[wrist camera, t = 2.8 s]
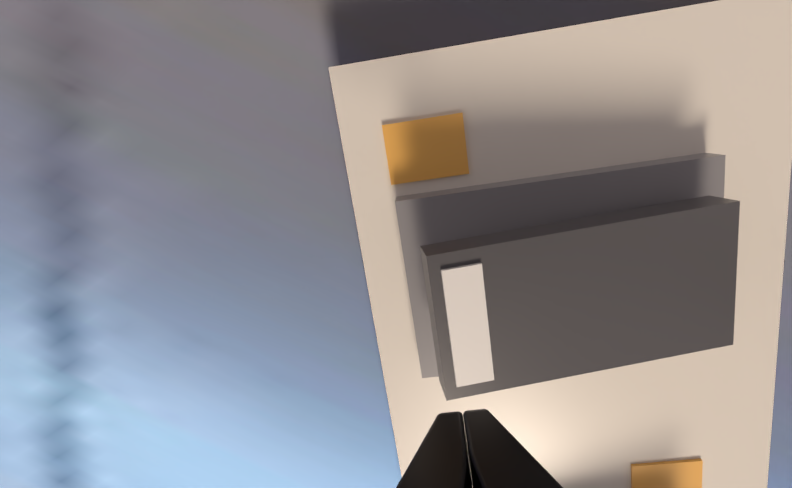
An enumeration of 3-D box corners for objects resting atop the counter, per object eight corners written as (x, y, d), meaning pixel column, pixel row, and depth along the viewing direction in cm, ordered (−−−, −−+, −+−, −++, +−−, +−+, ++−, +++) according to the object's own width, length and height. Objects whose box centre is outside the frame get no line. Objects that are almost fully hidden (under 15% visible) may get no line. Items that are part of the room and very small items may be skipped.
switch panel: (751, 3, 14) (834, -25, 11) (722, 609, 20) (770, 687, 18) (340, 73, 15) (322, 63, 12) (435, 624, 22) (437, 699, 19)
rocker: (709, 195, 12) (743, 201, 11) (705, 329, 13) (736, 346, 12) (419, 245, 12) (426, 257, 11) (439, 380, 13) (447, 403, 12)
